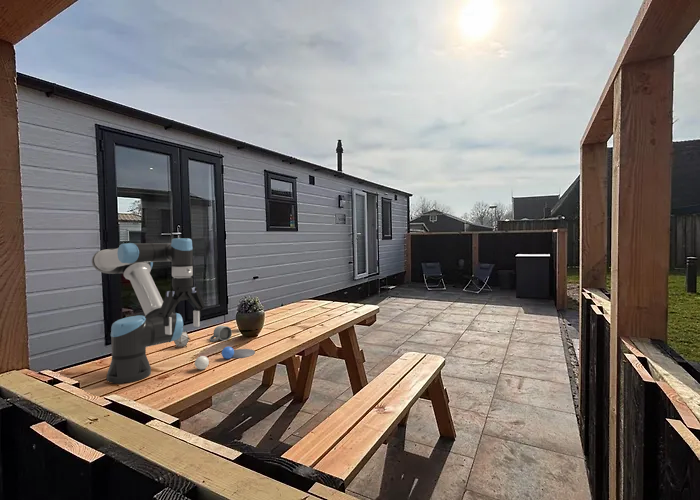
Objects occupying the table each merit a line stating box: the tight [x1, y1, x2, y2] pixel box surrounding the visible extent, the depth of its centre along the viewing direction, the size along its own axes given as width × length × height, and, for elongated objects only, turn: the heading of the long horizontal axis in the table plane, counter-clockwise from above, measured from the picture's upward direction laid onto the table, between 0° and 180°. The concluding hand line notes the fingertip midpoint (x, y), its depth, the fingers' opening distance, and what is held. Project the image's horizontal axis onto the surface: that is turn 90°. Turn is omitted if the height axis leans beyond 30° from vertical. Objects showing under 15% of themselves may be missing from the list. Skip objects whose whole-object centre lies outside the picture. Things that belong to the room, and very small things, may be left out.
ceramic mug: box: [209, 325, 233, 343], centre depth 197 cm, size 11×8×8 cm
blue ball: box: [221, 346, 235, 360], centre depth 165 cm, size 6×6×6 cm
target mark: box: [230, 348, 256, 359], centre depth 172 cm, size 14×14×1 cm
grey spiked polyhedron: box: [173, 330, 191, 349], centre depth 184 cm, size 9×8×10 cm
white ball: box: [194, 355, 210, 370], centre depth 152 cm, size 6×6×6 cm
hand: (183, 330), depth 143 cm, fingers open, 13 cm apart
